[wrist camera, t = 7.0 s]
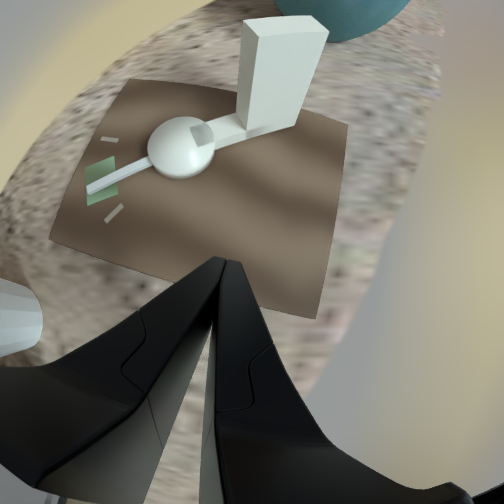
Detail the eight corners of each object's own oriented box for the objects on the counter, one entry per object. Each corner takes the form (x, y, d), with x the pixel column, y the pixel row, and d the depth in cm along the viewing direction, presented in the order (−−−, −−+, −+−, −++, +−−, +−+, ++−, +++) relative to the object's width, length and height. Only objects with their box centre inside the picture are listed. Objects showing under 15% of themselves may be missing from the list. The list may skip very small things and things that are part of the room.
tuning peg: (302, 139, 21) (344, 46, 11) (96, 220, 18) (15, 157, 8) (275, 97, 21) (298, 5, 12) (85, 168, 19) (22, 94, 9)
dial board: (310, 318, 19) (315, 319, 18) (55, 242, 19) (47, 238, 17) (343, 131, 23) (348, 124, 22) (132, 86, 22) (129, 78, 21)
